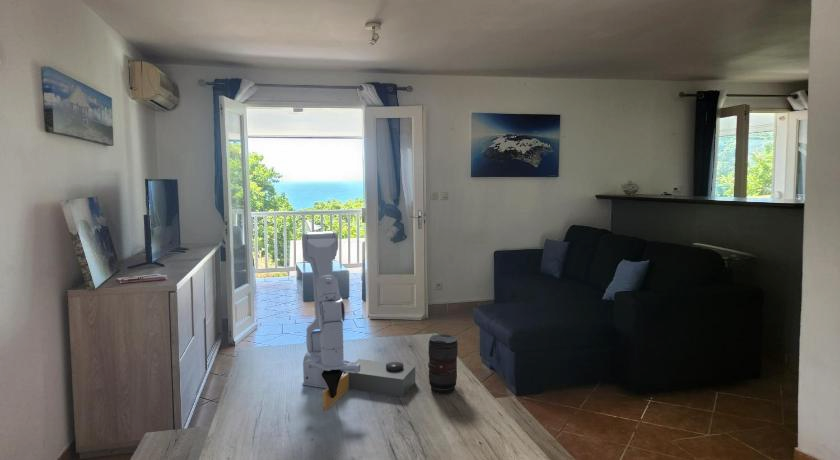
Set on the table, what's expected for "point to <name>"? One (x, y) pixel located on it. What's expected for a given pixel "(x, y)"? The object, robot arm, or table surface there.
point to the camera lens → (443, 363)
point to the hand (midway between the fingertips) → (333, 396)
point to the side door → (341, 389)
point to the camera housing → (382, 377)
